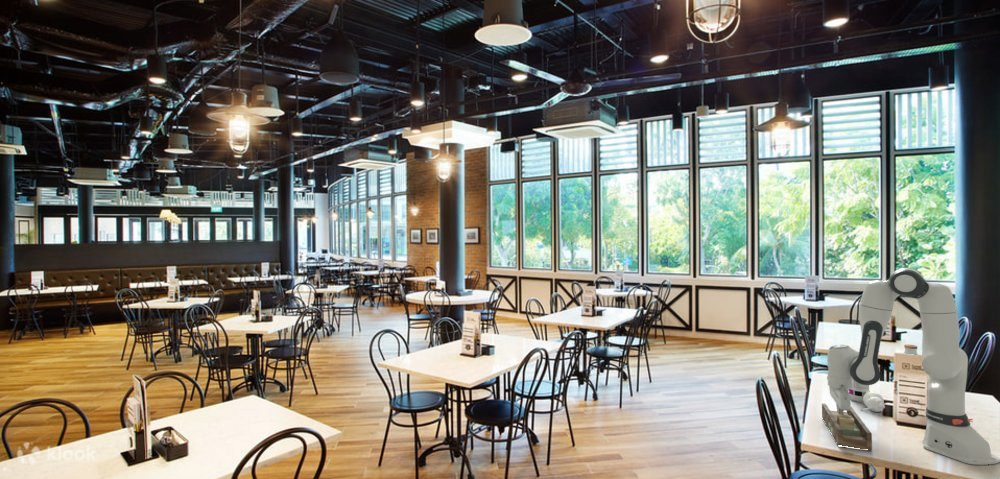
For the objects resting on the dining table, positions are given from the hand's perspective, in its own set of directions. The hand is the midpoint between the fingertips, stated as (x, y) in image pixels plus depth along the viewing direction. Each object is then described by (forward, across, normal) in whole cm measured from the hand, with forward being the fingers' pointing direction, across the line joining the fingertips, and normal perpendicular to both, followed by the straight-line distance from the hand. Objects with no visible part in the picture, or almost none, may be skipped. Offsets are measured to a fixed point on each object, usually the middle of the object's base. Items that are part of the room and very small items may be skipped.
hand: (840, 413), depth 217 cm
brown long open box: (+6, -8, 0) cm, 10 cm away
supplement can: (+6, +42, -16) cm, 45 cm away
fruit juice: (+6, +45, -38) cm, 59 cm away
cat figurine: (+6, +28, -18) cm, 34 cm away
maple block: (+2, -10, 0) cm, 11 cm away
